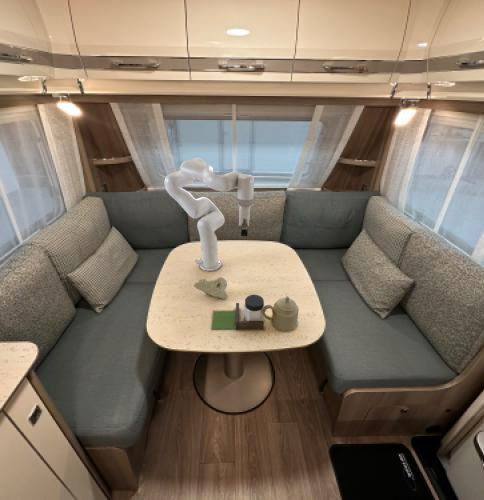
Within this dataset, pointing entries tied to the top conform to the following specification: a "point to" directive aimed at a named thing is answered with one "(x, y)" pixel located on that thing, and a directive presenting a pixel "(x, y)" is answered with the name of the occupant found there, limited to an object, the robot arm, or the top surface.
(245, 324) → the corner rail
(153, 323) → the top surface
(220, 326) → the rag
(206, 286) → the khaki irregular lump
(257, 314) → the jar
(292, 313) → the sugar bowl
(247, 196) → the robot arm
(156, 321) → the top surface
